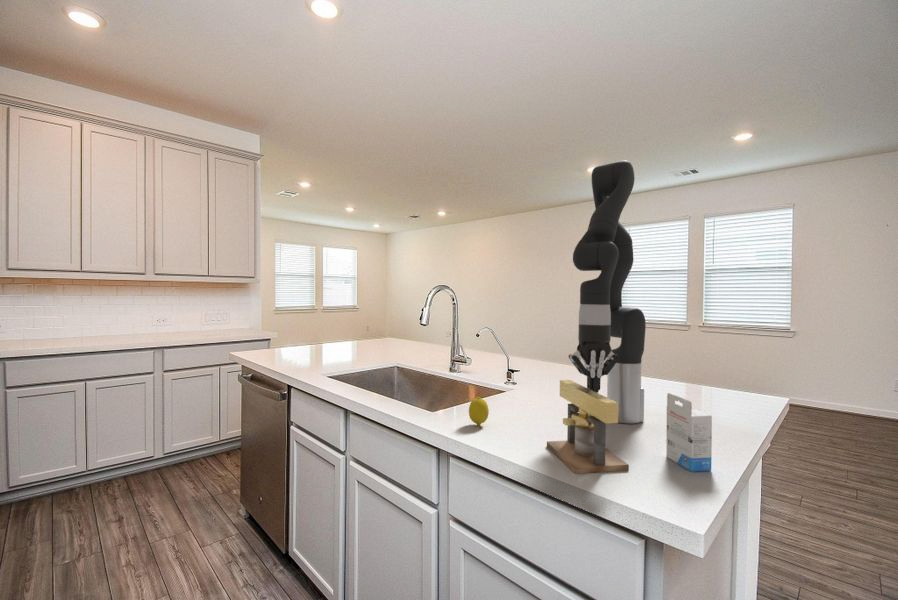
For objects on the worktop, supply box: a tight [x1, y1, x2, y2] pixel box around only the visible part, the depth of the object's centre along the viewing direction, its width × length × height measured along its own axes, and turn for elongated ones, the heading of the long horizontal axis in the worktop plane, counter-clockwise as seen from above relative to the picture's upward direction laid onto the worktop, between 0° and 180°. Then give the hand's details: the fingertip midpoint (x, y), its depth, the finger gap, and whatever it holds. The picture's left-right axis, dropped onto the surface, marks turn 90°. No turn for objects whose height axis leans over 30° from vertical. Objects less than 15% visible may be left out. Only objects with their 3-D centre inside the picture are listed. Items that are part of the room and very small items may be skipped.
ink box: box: [665, 392, 713, 472], centre depth 88 cm, size 9×5×15 cm, turn 5°
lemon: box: [468, 396, 490, 426], centre depth 113 cm, size 6×6×8 cm
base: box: [546, 403, 630, 475], centre depth 91 cm, size 12×15×10 cm
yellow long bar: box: [559, 379, 619, 429], centre depth 91 cm, size 10×22×8 cm, turn 8°
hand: (593, 392), depth 101 cm, fingers closed
